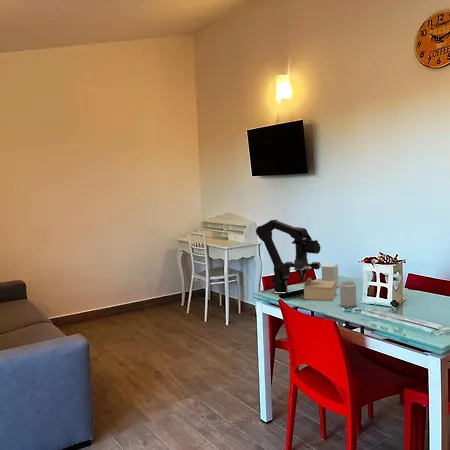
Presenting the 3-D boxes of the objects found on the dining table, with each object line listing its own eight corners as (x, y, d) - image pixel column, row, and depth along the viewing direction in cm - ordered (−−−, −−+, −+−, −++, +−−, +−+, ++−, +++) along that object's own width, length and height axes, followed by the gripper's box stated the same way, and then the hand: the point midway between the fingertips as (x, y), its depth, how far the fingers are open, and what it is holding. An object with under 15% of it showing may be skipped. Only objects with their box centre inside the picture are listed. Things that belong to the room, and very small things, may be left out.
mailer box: (304, 299, 246) (303, 288, 245) (309, 292, 259) (309, 282, 258) (331, 300, 241) (331, 289, 240) (335, 293, 254) (335, 282, 253)
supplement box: (339, 286, 269) (338, 264, 268) (334, 289, 263) (333, 266, 262) (326, 285, 273) (325, 263, 272) (321, 288, 267) (321, 266, 266)
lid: (303, 288, 245) (303, 283, 245) (309, 281, 258) (308, 277, 258) (331, 289, 240) (331, 284, 239) (336, 282, 253) (335, 277, 253)
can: (347, 308, 226) (347, 283, 224) (337, 305, 232) (336, 281, 231) (359, 305, 229) (359, 281, 228) (349, 302, 236) (348, 278, 235)
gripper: (280, 255, 246) (281, 284, 248) (316, 255, 240) (317, 285, 241) (285, 251, 257) (286, 279, 258) (320, 251, 250) (321, 280, 251)
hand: (302, 281), depth 252 cm, fingers closed
